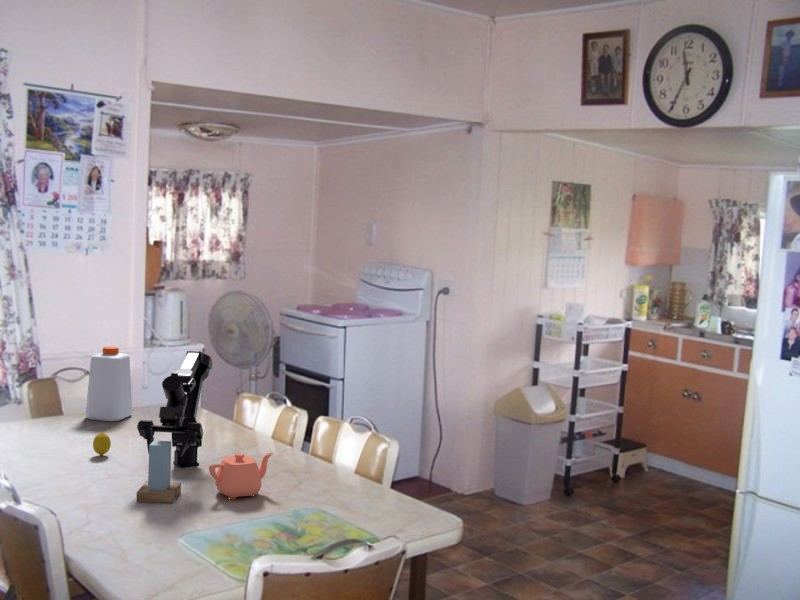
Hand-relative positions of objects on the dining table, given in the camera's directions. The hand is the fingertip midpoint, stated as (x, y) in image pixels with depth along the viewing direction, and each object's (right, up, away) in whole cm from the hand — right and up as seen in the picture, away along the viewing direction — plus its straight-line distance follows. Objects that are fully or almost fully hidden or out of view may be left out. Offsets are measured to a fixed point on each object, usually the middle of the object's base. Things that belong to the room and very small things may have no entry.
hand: (164, 454), depth 242 cm
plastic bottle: (-47, -1, +86) cm, 97 cm away
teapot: (+22, -12, +3) cm, 25 cm away
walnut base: (0, -11, -4) cm, 12 cm away
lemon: (-31, -7, +33) cm, 46 cm away
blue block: (0, -8, -5) cm, 10 cm away
